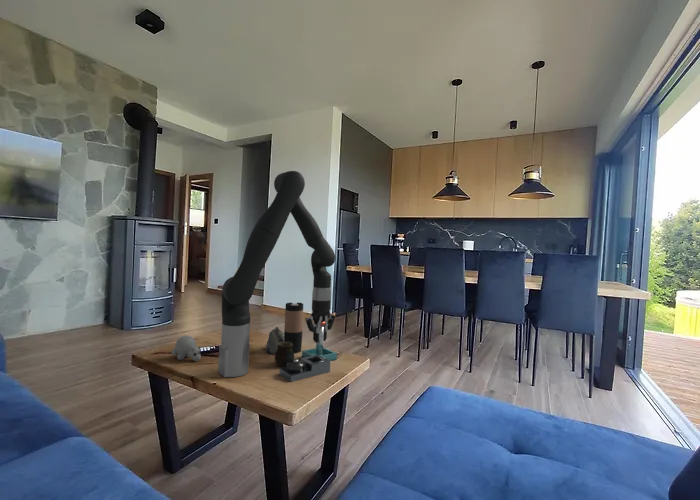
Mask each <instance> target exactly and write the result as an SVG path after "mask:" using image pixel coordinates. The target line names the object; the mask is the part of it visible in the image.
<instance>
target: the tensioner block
mask: <svg viewBox="0 0 700 500" xmlns="http://www.w3.org/2000/svg"><path fill="white" fill-rule="evenodd" d="M278 372H279V375H280V376H281V377H283V378H285V379H286V380H288V381H289V382H291V383H292V382H296V381H300V380H303V379H308V378H311V377H315V376H318V375H323V374H327V373H331V361H330V360H328V359H326V358H324V357H322V356H320V355H314V356H309V357H304V358H303V357H300V358H299V359H298V358H294V360H291V361H288V362H287V367H280V368H279V371H278Z"/></svg>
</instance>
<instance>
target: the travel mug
mask: <svg viewBox="0 0 700 500" xmlns="http://www.w3.org/2000/svg"><path fill="white" fill-rule="evenodd" d="M284 310H285V311H284V312H285V313H284V332H283V333H284V342H290V341H291V343H292V344H293V347H292V349H293V352H294V354H298V353H301V352H302V348H303V347H302V343H303V329H304V303H302V302H297V303H293V302H286V303H285V308H284Z"/></svg>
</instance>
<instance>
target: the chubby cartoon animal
mask: <svg viewBox="0 0 700 500" xmlns="http://www.w3.org/2000/svg"><path fill="white" fill-rule="evenodd" d="M201 348H202V346H201V345H199V346H197V342H196V340H195V338H194V337H193V336H190V335H183V336H180V337H179V338H177V340H176V342H175V344H174V348H172V351H171V355H172V356H176V358H177V360H178V361H183V360H184V359H185V358H188V359H189V358H191V359H192V360H193V361H194V362H198V361H201V358H202V356H201Z"/></svg>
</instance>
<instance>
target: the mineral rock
mask: <svg viewBox="0 0 700 500" xmlns="http://www.w3.org/2000/svg"><path fill="white" fill-rule="evenodd" d="M280 342H284V332H283V330H281V329H279V327H278V326H275V328H274V329H272V330H271V331H270V332H269V333H268V340H267V342H266V345H265V348H266V351H265V352H266V353H267V354H272V355H273V354H274V355H275V353H276V351H277V349H278V343H280Z"/></svg>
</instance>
